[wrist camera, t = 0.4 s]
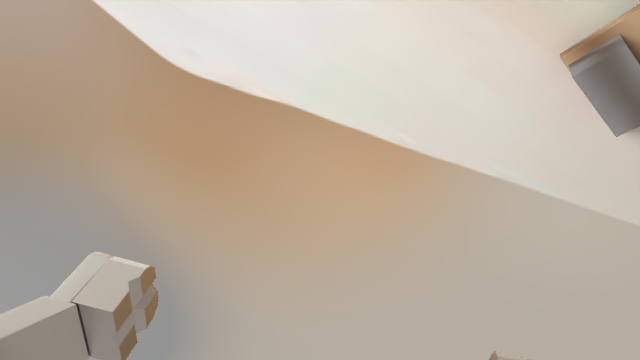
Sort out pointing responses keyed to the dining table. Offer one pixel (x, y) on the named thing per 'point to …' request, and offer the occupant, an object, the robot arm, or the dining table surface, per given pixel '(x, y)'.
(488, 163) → the dining table surface
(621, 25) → the beam
